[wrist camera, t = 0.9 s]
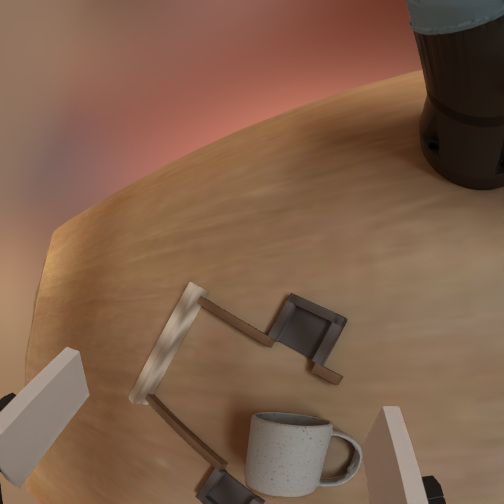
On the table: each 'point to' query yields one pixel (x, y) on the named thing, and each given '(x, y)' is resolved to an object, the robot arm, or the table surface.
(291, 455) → the ceramic mug
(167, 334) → the frame with square trays
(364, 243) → the table surface
